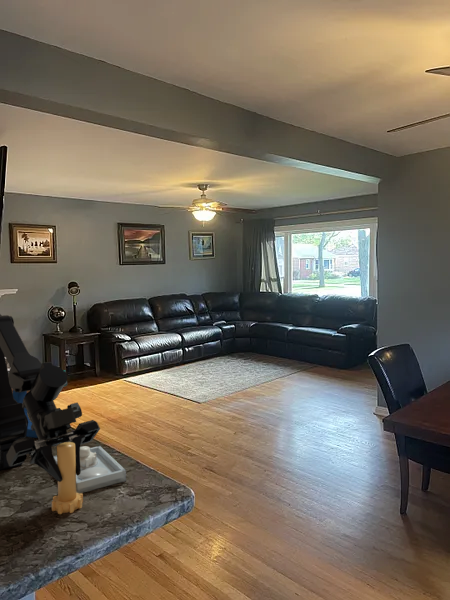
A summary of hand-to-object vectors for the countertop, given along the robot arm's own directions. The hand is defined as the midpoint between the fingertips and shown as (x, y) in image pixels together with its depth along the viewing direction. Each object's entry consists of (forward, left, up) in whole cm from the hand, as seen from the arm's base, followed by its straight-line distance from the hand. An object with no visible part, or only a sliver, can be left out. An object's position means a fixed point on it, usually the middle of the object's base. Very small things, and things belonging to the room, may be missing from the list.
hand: (70, 477), depth 95 cm
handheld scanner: (-47, +5, -7) cm, 48 cm away
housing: (-14, +8, -7) cm, 18 cm away
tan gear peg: (-1, 0, -7) cm, 7 cm away
